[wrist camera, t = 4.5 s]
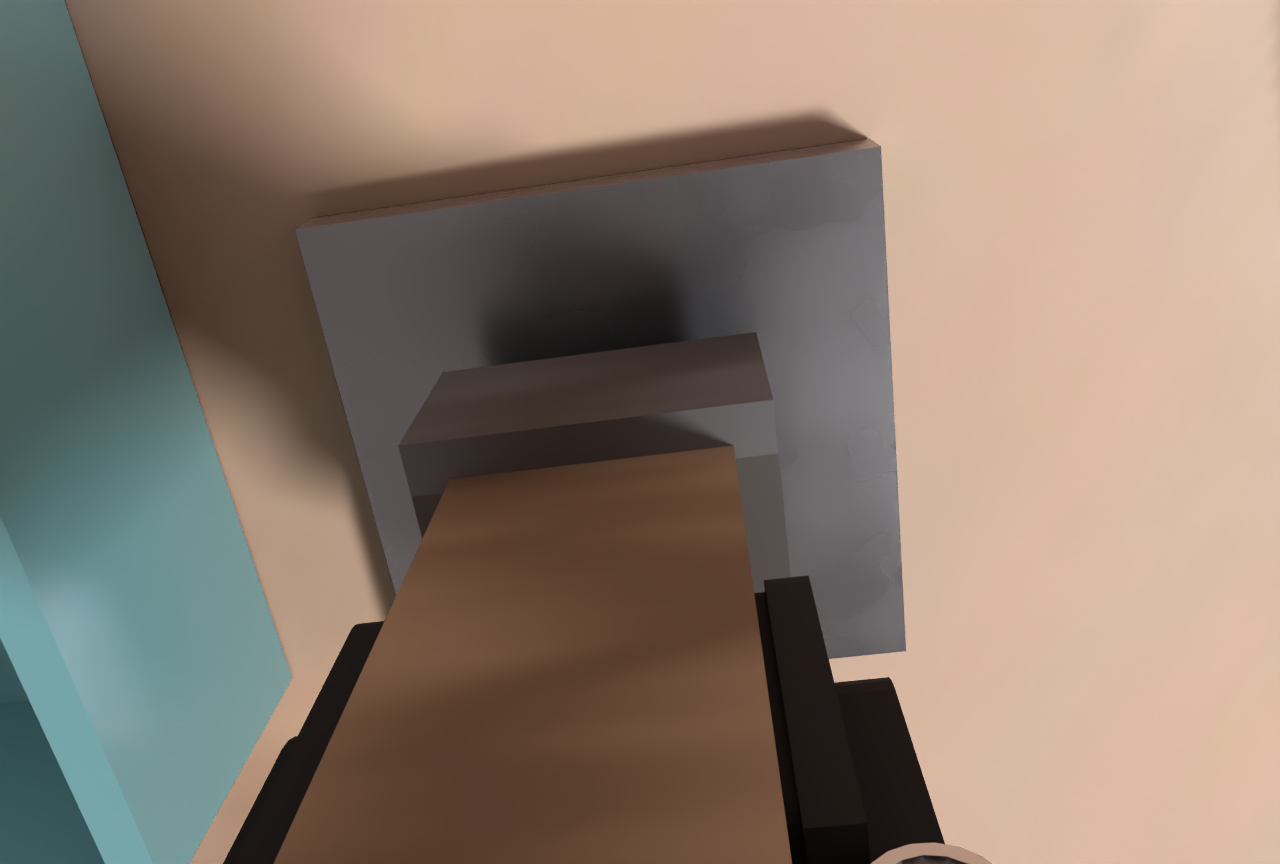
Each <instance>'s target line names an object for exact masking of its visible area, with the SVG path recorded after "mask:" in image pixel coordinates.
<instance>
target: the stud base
mask: <svg viewBox="0 0 1280 864" xmlns="http://www.w3.org/2000/svg"><path fill="white" fill-rule="evenodd" d="M295 233H296V237H297V240H298V244H299V247H300V251H301V255H302V258H303V262H304V265H305V269H306V273H307V276H308V280H309V283H310V287H311V291H312V294H313V298H314V301H315V305H316V309H317V312H318V316H319V320H320V323H321V327H322V330H323V334H324V338H325V341H326V345H327V348H328V352H329V356H330V359H331V363H332V366H333V370H334V374H335V377H336V381H337V384H338V388H339V392H340V395H341V399H342V402H343V406H344V410H345V413H346V417H347V420H348V424H349V428H350V431H351V435H352V438H353V442H354V446H355V449H356V453H357V456H358V460H359V464H360V467H361V471H362V475H363V478H364V482H365V485H366V489H367V493H368V496H369V500H370V503H371V507H372V511H373V514H374V518H375V521H376V525H377V529H378V532H379V536H380V539H381V543H382V547H383V550H384V554H385V557H386V561H387V565H388V568H389V572H390V575H391V579H392V583H393V586H394V590H395V593H396V595H397V593H398V591H399V589H400V587H401V584H402V582H403V580H404V578H405V576H406V573H407V571H408V569H409V567H410V565H411V563H412V560H413V558H414V556H415V554H416V552H417V549H418V547H419V545H420V543H421V541H422V536H421V532H420V528H419V525H418V521H417V517H416V513H415V509H414V505H413V501H412V497H411V494H410V490H409V486H408V482H407V478H406V474H405V470H404V467H403V463H402V459H401V455H400V451H399V447H398V445H399V443H400V442H401V440H402V438H403V437H404V435H405V434H406V432H407V430H408V429H409V427H410V425H411V424H412V422H413V420H414V419H415V417H416V415H417V414H418V412H419V410H420V409H421V407H422V406H423V404H424V402H425V401H426V399H427V397H428V396H429V394H430V392H431V391H432V389H433V387H434V386H435V384H436V382H437V381H438V379H439V378H440V376H441V374H442V373H443V372H448V371H456V370H463V369H471V368H479V367H487V366H495V365H502V364H510V363H518V362H526V361H534V360H541V359H549V358H557V357H565V356H573V355H580V354H588V353H596V352H604V351H612V350H619V349H627V348H635V347H643V346H650V345H658V344H666V343H674V342H682V341H689V340H697V339H705V338H713V337H721V336H728V335H736V334H744V333H752V332H756V334H757V338H758V341H759V345H760V349H761V353H762V357H763V361H764V365H765V369H766V373H767V377H768V381H769V385H770V389H771V393H772V397H773V402H774V412H775V422H776V432H777V442H778V452H779V462H780V472H781V482H782V492H783V502H784V512H785V522H786V533H787V543H788V553H789V563H790V573H791V577H797V576H806V575H808V576H809V579H810V583H811V587H812V591H813V596H814V600H815V604H816V608H817V612H818V617H819V621H820V625H821V629H822V634H823V638H824V642H825V646H826V650H827V655H828V659H832V658H842V657H851V656H861V655H871V654H881V653H891V652H901V651H906V644H905V623H904V603H903V583H902V563H901V543H900V523H899V503H898V483H897V462H896V442H895V422H894V402H893V382H892V362H891V342H890V322H889V302H888V281H887V261H886V241H885V221H884V201H883V181H882V161H881V146H879V145H878V144H877V143H875V142H874V141H872V140H871V139H864V140H857V141H850V142H843V143H836V144H829V145H822V146H815V147H808V148H801V149H794V150H787V151H780V152H773V153H766V154H758V155H751V156H744V157H737V158H730V159H723V160H716V161H709V162H702V163H695V164H688V165H681V166H674V167H667V168H660V169H653V170H646V171H639V172H632V173H625V174H618V175H611V176H604V177H597V178H590V179H583V180H576V181H569V182H562V183H555V184H548V185H541V186H534V187H527V188H520V189H513V190H506V191H499V192H492V193H485V194H478V195H471V196H464V197H457V198H450V199H443V200H436V201H429V202H422V203H415V204H408V205H401V206H394V207H387V208H380V209H373V210H366V211H359V212H352V213H344V214H337V215H330V216H323V217H316V218H312V219H311V220H309V221H308V222H306V223H304V224H303V225H301V226H300V227H298V228H296V229H295Z"/></svg>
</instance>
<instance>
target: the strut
mask: <svg viewBox="0 0 1280 864" xmlns="http://www.w3.org/2000/svg"><path fill="white" fill-rule="evenodd" d="M398 447H399V451H400V455H401V459H402V463H403V467H404V470H405V474H406V478H407V482H408V486H409V490H410V494H411V497H412V501H413V505H414V509H415V513H416V517H417V521H418V525H419V528H420V532H421V536H422V541H421V543H420V545H419V547H418V549H417V552H416V554H415V556H414V558H413V560H412V563H411V565H410V567H409V569H408V571H407V573H406V576H405V578H404V580H403V582H402V584H401V587H400V589H399V591H398V593H397V595H396V597H395V600H394V602H393V604H392V606H391V608H390V611H389V613H388V615H387V617H386V619H385V622H384V624H383V626H382V628H381V630H380V632H379V635H378V637H377V639H376V641H375V643H374V646H373V648H372V650H371V652H370V654H369V656H368V659H367V661H366V663H365V665H364V667H363V670H362V672H361V674H360V676H359V678H358V680H357V683H356V685H355V687H354V689H353V691H352V694H351V696H350V698H349V700H348V702H347V704H346V707H345V709H344V711H343V713H342V715H341V718H340V720H339V722H338V724H337V726H336V729H335V731H334V733H333V735H332V737H331V739H330V742H329V744H328V746H327V748H326V750H325V753H324V755H323V757H322V759H321V761H320V763H319V766H318V768H317V770H316V772H315V774H314V777H313V779H312V781H311V783H310V785H309V787H308V790H307V792H306V794H305V796H304V798H303V801H302V803H301V805H300V807H299V809H298V812H297V814H296V816H295V818H294V820H293V822H292V825H291V827H290V829H289V831H288V833H287V836H286V838H285V840H284V842H283V844H282V846H281V849H280V851H279V853H278V855H277V857H276V860H275V862H274V864H792V860H791V852H790V845H789V838H788V831H787V824H786V817H785V810H784V802H783V795H782V788H781V781H780V774H779V767H778V760H777V752H776V745H775V738H774V731H773V724H772V717H771V709H770V702H769V695H768V688H767V681H766V674H765V667H764V659H763V652H762V645H761V638H760V631H759V624H758V617H757V609H756V602H755V595H754V593H760V592H765V589H764V580H769V579H778V578H787V577H791V573H790V563H789V553H788V543H787V533H786V522H785V512H784V502H783V492H782V482H781V472H780V462H779V452H778V442H777V432H776V422H775V412H774V402H773V397H772V393H771V389H770V385H769V381H768V377H767V373H766V369H765V365H764V361H763V357H762V353H761V349H760V345H759V341H758V338H757V334H756V332H752V333H744V334H736V335H728V336H721V337H713V338H705V339H697V340H689V341H682V342H674V343H666V344H658V345H650V346H643V347H635V348H627V349H619V350H612V351H604V352H596V353H588V354H580V355H573V356H565V357H557V358H549V359H541V360H534V361H526V362H518V363H510V364H502V365H495V366H487V367H479V368H471V369H463V370H456V371H448V372H443V373H442V374H441V376H440V378H439V379H438V381H437V382H436V384H435V386H434V387H433V389H432V391H431V392H430V394H429V396H428V397H427V399H426V401H425V402H424V404H423V406H422V407H421V409H420V410H419V412H418V414H417V415H416V417H415V419H414V420H413V422H412V424H411V425H410V427H409V429H408V430H407V432H406V434H405V435H404V437H403V438H402V440H401V442H400V443H399V445H398Z"/></svg>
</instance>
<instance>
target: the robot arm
mask: <svg viewBox="0 0 1280 864" xmlns="http://www.w3.org/2000/svg"><path fill="white" fill-rule="evenodd" d="M764 589H765V592H760V593H754V595H755V602H756V609H757V617H758V624H759V631H760V638H761V645H762V652H763V659H764V667H765V674H766V681H767V688H768V695H769V702H770V709H771V717H772V724H773V731H774V738H775V745H776V752H777V760H778V767H779V774H780V781H781V788H782V795H783V802H784V810H785V817H786V824H787V831H788V838H789V845H790V852H791V860H792V864H992V863H990V862H989V861H988V860H986V859H985V858H984V857H982V856H980V855H977V854H975V853H973V852H970V851H968V850H966V849H963V848H961V847H957V846H952V845H946V844H945V843H944V840H943V837H942V834H941V830H940V827H939V824H938V821H937V818H936V815H935V812H934V809H933V806H932V802H931V799H930V796H929V793H928V790H927V787H926V784H925V781H924V778H923V775H922V771H921V768H920V765H919V762H918V759H917V756H916V753H915V750H914V747H913V743H912V740H911V737H910V734H909V731H908V728H907V725H906V722H905V719H904V716H903V712H902V709H901V706H900V703H899V700H898V697H897V694H896V691H895V688H894V685H893V683H892V680H891V679H890V678H889V677H888V678H878V679H868V680H858V681H848V682H838V683H834V680H833V676H832V672H831V667H830V663H829V659H828V655H827V650H826V646H825V642H824V638H823V634H822V629H821V625H820V621H819V617H818V612H817V608H816V604H815V600H814V596H813V591H812V587H811V583H810V579H809V576H808V575H806V576H797V577H787V578H778V579H769V580H764ZM384 622H385V621H381V622H372V623H363V624H357V625H355V626H354V627H353V628H352V630H351V631H350V633H349V635H348V637H347V639H346V641H345V643H344V645H343V647H342V649H341V651H340V653H339V655H338V657H337V659H336V661H335V663H334V665H333V667H332V669H331V671H330V673H329V675H328V677H327V679H326V681H325V683H324V685H323V687H322V689H321V691H320V693H319V695H318V697H317V699H316V701H315V703H314V705H313V707H312V709H311V711H310V713H309V715H308V717H307V719H306V721H305V723H304V725H303V727H302V729H301V731H300V733H299V735H298V736H295V737H294V738H292V739H290V740H288V742H287V743H286V744H285V746H284V747H283V749H282V750H281V752H280V754H279V756H278V758H277V760H276V762H275V764H274V766H273V768H272V770H271V772H270V774H269V775H268V777H267V779H266V781H265V783H264V785H263V787H262V789H261V791H260V793H259V795H258V797H257V799H256V801H255V803H254V805H253V807H252V808H251V810H250V812H249V814H248V816H247V818H246V820H245V822H244V824H243V826H242V828H241V830H240V832H239V834H238V836H237V838H236V840H235V841H234V843H233V845H232V847H231V849H230V851H229V853H228V855H227V857H226V859H225V861H224V863H223V864H274V862H275V860H276V857H277V855H278V853H279V851H280V849H281V846H282V844H283V842H284V840H285V838H286V836H287V833H288V831H289V829H290V827H291V825H292V822H293V820H294V818H295V816H296V814H297V812H298V809H299V807H300V805H301V803H302V801H303V798H304V796H305V794H306V792H307V790H308V787H309V785H310V783H311V781H312V779H313V777H314V774H315V772H316V770H317V768H318V766H319V763H320V761H321V759H322V757H323V755H324V753H325V750H326V748H327V746H328V744H329V742H330V739H331V737H332V735H333V733H334V731H335V729H336V726H337V724H338V722H339V720H340V718H341V715H342V713H343V711H344V709H345V707H346V704H347V702H348V700H349V698H350V696H351V694H352V691H353V689H354V687H355V685H356V683H357V680H358V678H359V676H360V674H361V672H362V670H363V667H364V665H365V663H366V661H367V659H368V656H369V654H370V652H371V650H372V648H373V646H374V643H375V641H376V639H377V637H378V635H379V632H380V630H381V628H382V626H383V624H384Z"/></svg>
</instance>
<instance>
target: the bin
mask: <svg viewBox="0 0 1280 864" xmlns="http://www.w3.org/2000/svg"><path fill="white" fill-rule="evenodd" d="M291 679H292V676H291V673H290V670H289V667H288V664H287V661H286V658H285V655H284V652H283V649H282V646H281V643H280V640H279V637H278V634H277V631H276V628H275V625H274V622H273V619H272V616H271V613H270V610H269V607H268V604H267V601H266V598H265V595H264V592H263V589H262V586H261V583H260V580H259V578H258V575H257V572H256V569H255V566H254V563H253V560H252V557H251V554H250V551H249V548H248V545H247V542H246V539H245V536H244V533H243V530H242V527H241V524H240V521H239V518H238V515H237V512H236V509H235V506H234V503H233V500H232V497H231V494H230V491H229V488H228V485H227V482H226V479H225V476H224V473H223V471H222V468H221V465H220V462H219V459H218V456H217V453H216V450H215V447H214V444H213V441H212V438H211V435H210V432H209V429H208V426H207V423H206V420H205V417H204V414H203V411H202V408H201V405H200V402H199V399H198V396H197V393H196V390H195V387H194V384H193V381H192V378H191V375H190V372H189V369H188V367H187V364H186V361H185V358H184V355H183V352H182V349H181V346H180V343H179V340H178V337H177V334H176V331H175V328H174V325H173V322H172V319H171V316H170V313H169V310H168V307H167V304H166V301H165V298H164V295H163V292H162V289H161V286H160V283H159V280H158V277H157V274H156V271H155V268H154V265H153V262H152V260H151V257H150V254H149V251H148V248H147V245H146V242H145V239H144V236H143V233H142V230H141V227H140V224H139V221H138V218H137V215H136V212H135V209H134V206H133V203H132V200H131V197H130V194H129V191H128V188H127V185H126V182H125V179H124V176H123V173H122V170H121V167H120V164H119V161H118V158H117V155H116V153H115V150H114V147H113V144H112V141H111V138H110V135H109V132H108V129H107V126H106V123H105V120H104V117H103V114H102V111H101V108H100V105H99V102H98V99H97V96H96V93H95V90H94V87H93V84H92V81H91V78H90V75H89V72H88V69H87V66H86V63H85V60H84V57H83V54H82V51H81V48H80V46H79V43H78V40H77V37H76V34H75V31H74V28H73V25H72V22H71V19H70V16H69V13H68V10H67V7H66V4H65V1H64V0H0V864H189V863H190V861H191V859H192V858H193V856H194V854H195V852H196V850H197V849H198V847H199V845H200V843H201V841H202V840H203V838H204V836H205V834H206V832H207V831H208V829H209V827H210V825H211V823H212V822H213V820H214V818H215V816H216V814H217V813H218V811H219V809H220V807H221V805H222V804H223V802H224V800H225V798H226V796H227V795H228V793H229V791H230V789H231V787H232V786H233V784H234V782H235V780H236V778H237V777H238V775H239V773H240V771H241V769H242V768H243V766H244V764H245V762H246V760H247V759H248V757H249V755H250V753H251V751H252V750H253V748H254V746H255V744H256V742H257V741H258V739H259V737H260V735H261V733H262V732H263V730H264V728H265V726H266V724H267V723H268V721H269V719H270V717H271V715H272V713H273V712H274V710H275V708H276V706H277V704H278V703H279V701H280V699H281V697H282V695H283V694H284V692H285V690H286V688H287V686H288V685H289V683H290V681H291Z"/></svg>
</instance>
